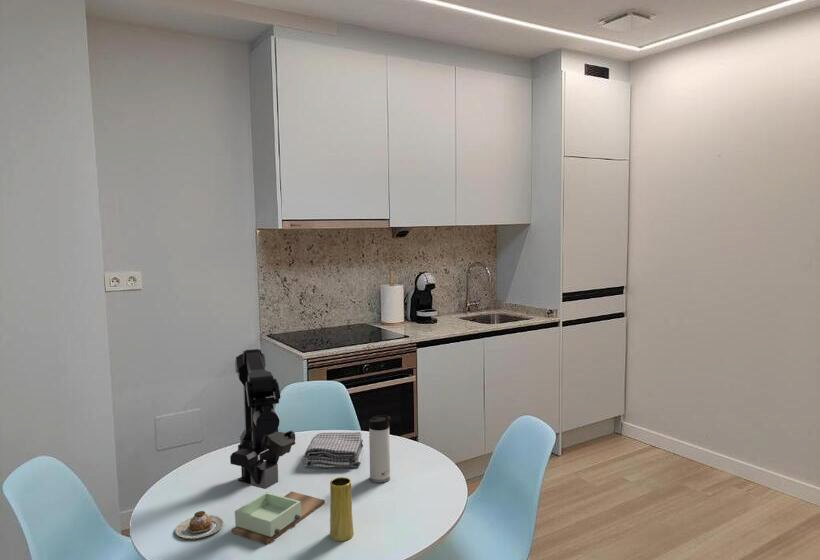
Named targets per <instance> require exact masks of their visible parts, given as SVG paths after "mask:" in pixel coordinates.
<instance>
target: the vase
mask: <svg viewBox="0 0 820 560" xmlns="http://www.w3.org/2000/svg"><path fill="white" fill-rule="evenodd" d="M329 487H330V488H329V489H330V506H329V507H330V509H329V511H330V513H329V514H330V518H329V538H330V539H331V540H333V541H336V542H345V541H348V540H351V539H352V538H353V536H354V534H355V531H354V526H353V525H354V523H353V505H352V501H353V500H352V481H351V478H348V477H344V476H341V477H340V476H339V477H335V478H332V479H331V480H330V483H329Z"/></svg>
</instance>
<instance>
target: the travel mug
mask: <svg viewBox="0 0 820 560" xmlns="http://www.w3.org/2000/svg"><path fill="white" fill-rule="evenodd" d="M390 420H391V416H390V415H383V414H382V415H376V416H373V417H371V418H370V419H369V421H368V422H369V425H368V427H369V428H368V429H369V431H368V432H369V433H368V434H369V435H368V436H369V437H368V439H369V441H368V442H369V444H368V445H369V480H370V482H373V483H376V484H383V482H384V483H386V482H388V481H390V479H391V461H390V460H391V456H390V455H391V452H390V451H391V450H390V447H391V445H390Z"/></svg>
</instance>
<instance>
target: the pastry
mask: <svg viewBox="0 0 820 560" xmlns="http://www.w3.org/2000/svg"><path fill="white" fill-rule="evenodd" d="M215 524H216V527H214V529H213V530H212V531H210V532H208V533H205V534H202V533H204V532H207V531H209V530H210V529H212V528H213V526H214V525H215ZM223 526H224V520H223V519H222V518H221V517H220V516H217V515H214V514H208V513H206V511H205V510H200V511H197V512H195V513H194V516H192V517H190V518H188V519H186V520H184V521H182V522H180V524H178V525H177V526H176V527H175V529H174V531H175V532H174V533H175V534H176V536H178V537H179V538H181V537H182V539H185V540H192V541H194V540H196V539H201V538H205V537H209V536H211V535H214V534H216V533H217V532H219V531H220V530H221V529H222V528H223ZM186 528H187V530H188V532H189V533H192V534H200V533H201V534H202V535H194V536H193V535H187V534H186V533H185V529H186Z"/></svg>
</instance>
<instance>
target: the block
mask: <svg viewBox="0 0 820 560" xmlns="http://www.w3.org/2000/svg"><path fill="white" fill-rule="evenodd" d="M263 461H264V462H263V463H262V464H261V466H260V484H256V483H255V482H254V480H253V478H252V476H251V484H250V486H251V487H256V488H259V489H263V490H267V489H268V488H271V487H272V486H273V485H275V484H277V483H279V466H278V465H279V463H278V462H277V463H272V462H267V461H266V460H263Z"/></svg>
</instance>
